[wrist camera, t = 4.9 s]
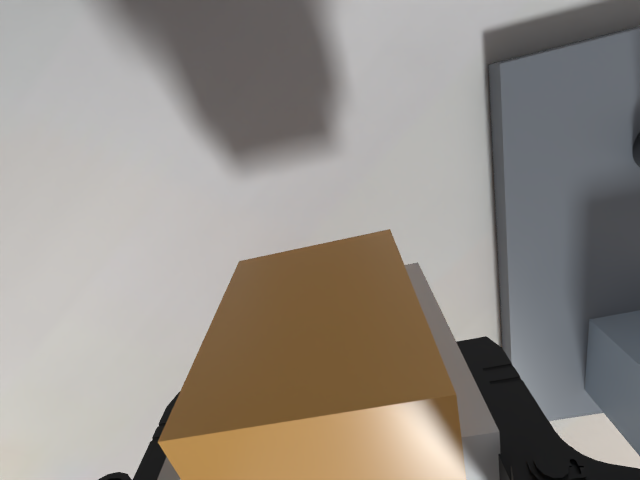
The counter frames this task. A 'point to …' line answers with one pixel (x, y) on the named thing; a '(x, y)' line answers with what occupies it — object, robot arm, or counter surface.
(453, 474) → the orange block
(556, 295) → the plate
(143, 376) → the counter surface
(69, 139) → the counter surface
